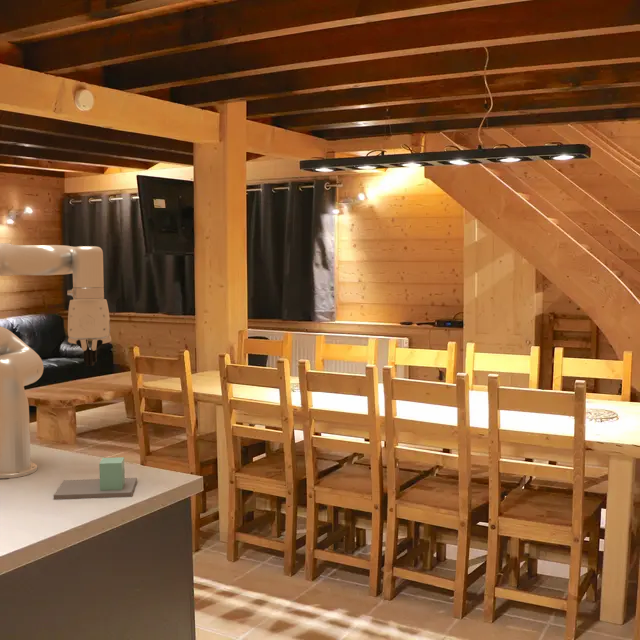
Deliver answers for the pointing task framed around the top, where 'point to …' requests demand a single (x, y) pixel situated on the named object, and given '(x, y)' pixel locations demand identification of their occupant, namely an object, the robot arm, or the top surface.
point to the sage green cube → (112, 473)
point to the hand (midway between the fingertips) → (90, 365)
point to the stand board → (92, 489)
